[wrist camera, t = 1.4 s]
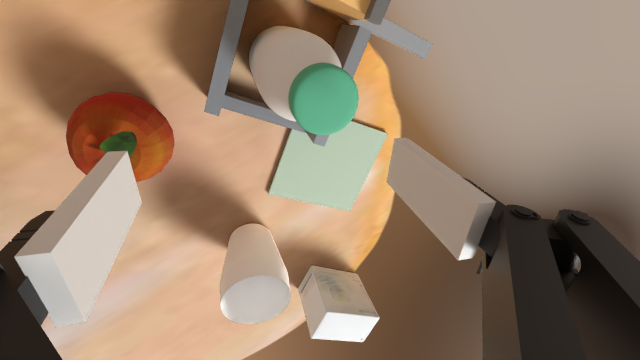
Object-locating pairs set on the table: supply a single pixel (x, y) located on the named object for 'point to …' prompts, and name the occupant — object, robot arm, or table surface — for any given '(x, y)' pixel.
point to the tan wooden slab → (356, 9)
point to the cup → (253, 277)
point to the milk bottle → (303, 79)
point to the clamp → (345, 47)
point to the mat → (327, 166)
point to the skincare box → (336, 305)
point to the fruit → (120, 133)
